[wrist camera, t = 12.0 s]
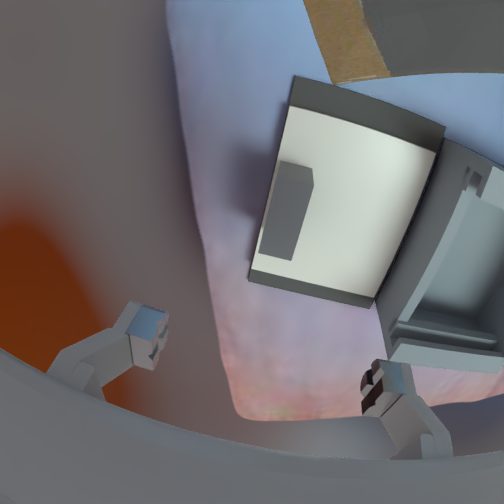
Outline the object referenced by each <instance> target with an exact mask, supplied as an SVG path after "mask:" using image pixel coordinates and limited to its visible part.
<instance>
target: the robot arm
mask: <svg viewBox="0 0 504 504" xmlns="http://www.w3.org/2000/svg"><path fill="white" fill-rule="evenodd" d="M168 319H169V316H168V312H166V311H163V310H160V309H157V308H154V307H151V306H147V305H145V304H141V303H138V302H135V301H130V302H129V303H128V305H127V306H126V308H125V309H124V311H123V313H122V314H121V316H120V317H119V319H118V321H117V322H116V324H115V325H114V327H113V328H112V329H111V328H107V329H105V330H103V331H101V332H99V333H97V334H95V335H93V336H91V337H89V338H86V339H84V340H82V341H80V342H78V343H76V344H74V345H72V346H70V347H67V348H65V349H63V350H61V352H60V353H59V354H58V356H57V357H56V359H55V360H54V362H53V363H52V365H51V366H50V368H49V369H48V371H47V373H46V374H45V373H43V372H41V371H39V370H37V369H35V368H33V367H32V366H30V365H28V364H26V363H25V362H23V361H21V360H19V359H18V358H16V357H14V356H12V355H11V354H9V353H7V352H6V351H4V350H2V349H1V348H0V504H504V450H503V451H497V452H491V453H484V454H477V455H469V456H460V457H454V456H453V450H452V444H451V438H450V433H449V432H448V430H447V429H446V428H445V427H444V425H443V424H442V423H441V422H440V420H439V419H438V418H437V417H436V415H435V414H434V413H433V412H432V411H431V409H430V408H429V407H428V406H427V404H426V403H425V402H424V401H423V399H422V398H421V397H420V396H417V394H416V389H415V384H414V379H413V375H412V370H411V366H410V364H409V363H401V362H395V361H388V360H381V359H376V360H374V361H373V363H372V364H371V368H372V369H370V370H368V371H366V372H365V374H364V375H363V377H362V380H361V385H360V391H361V394H362V395H363V397H364V399H363V400H362V401H361V406H362V415H363V416H372V417H380V420H381V421H382V423H383V425H384V426H385V428H386V430H387V432H388V434H389V435H390V437H391V439H392V440H393V442H394V444H395V446H396V448H397V449H398V451H399V452H398V453H396V454H395V455H394V456H392V457H391V458H390V459H389V460H374V459H351V458H337V457H326V456H317V455H308V454H300V453H293V452H286V451H279V450H273V449H267V448H262V447H256V446H251V445H246V444H241V443H237V442H232V441H228V440H223V439H219V438H215V437H211V436H207V435H203V434H200V433H196V432H192V431H189V430H185V429H182V428H178V427H175V426H172V425H169V424H165V423H162V422H159V421H156V420H153V419H150V418H147V417H144V416H141V415H139V414H136V413H133V412H130V411H128V410H125V409H122V408H120V407H117V406H115V405H112V404H110V403H107V402H106V401H105V398H104V395H103V393H102V390H101V387H102V386H104V385H105V384H107V383H108V382H110V381H111V380H112V379H114V378H115V377H117V376H118V375H120V374H122V373H123V372H124V371H126V370H127V369H129V368H130V367H132V366H133V365H136V366H139V367H143V368H146V369H149V370H152V371H153V370H154V368H155V366H156V364H157V362H158V359H159V351H161V350H163V348H164V346H165V344H166V340H167V337H168V325H167V324H166V323H167V321H168Z"/></svg>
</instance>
